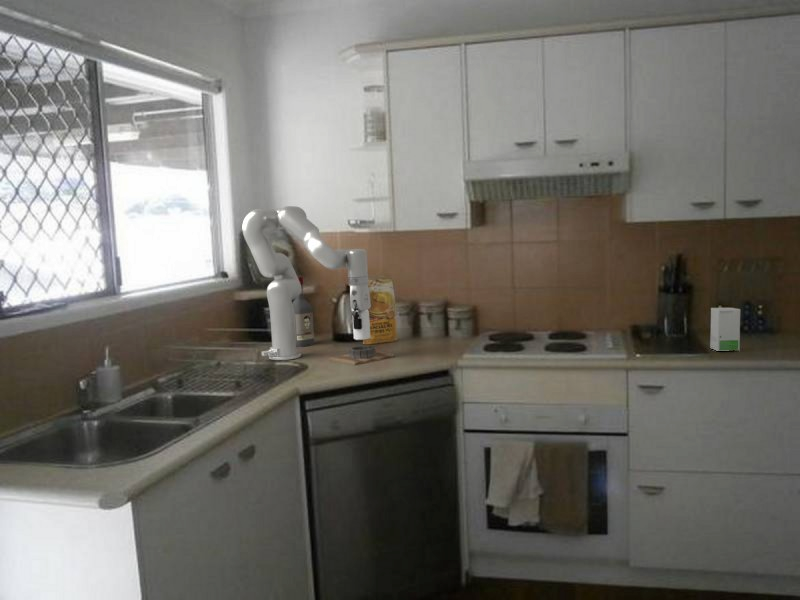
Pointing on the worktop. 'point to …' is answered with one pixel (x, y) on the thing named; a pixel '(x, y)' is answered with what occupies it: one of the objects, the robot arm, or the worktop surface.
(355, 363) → the socket
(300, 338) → the liquor
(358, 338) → the can
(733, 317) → the skincare box
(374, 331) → the pancake mix bag
